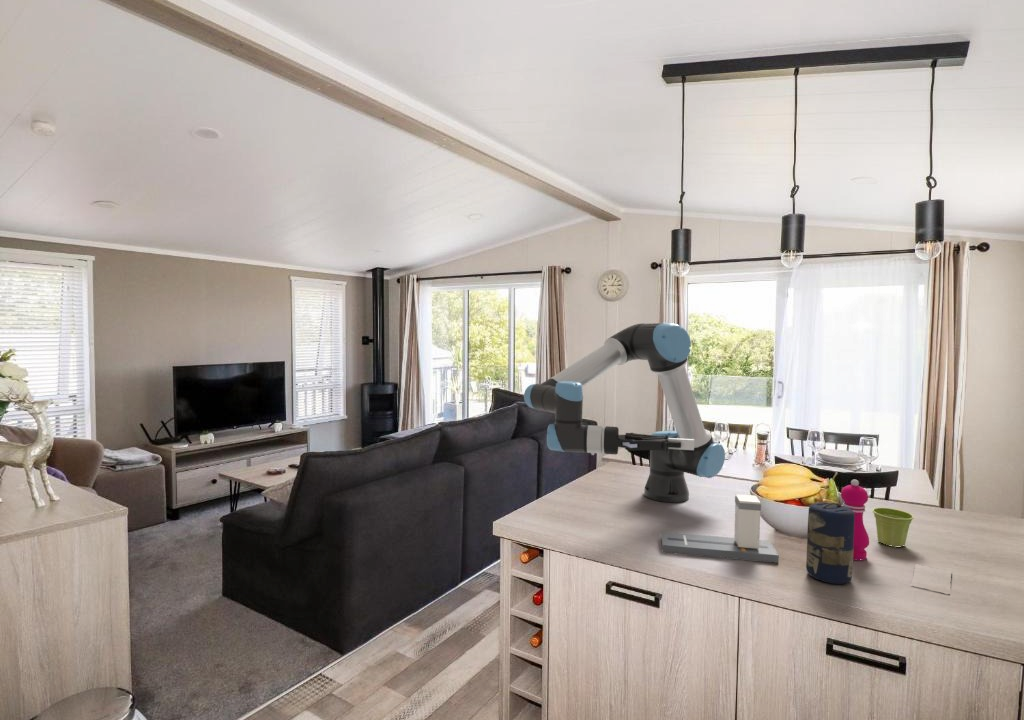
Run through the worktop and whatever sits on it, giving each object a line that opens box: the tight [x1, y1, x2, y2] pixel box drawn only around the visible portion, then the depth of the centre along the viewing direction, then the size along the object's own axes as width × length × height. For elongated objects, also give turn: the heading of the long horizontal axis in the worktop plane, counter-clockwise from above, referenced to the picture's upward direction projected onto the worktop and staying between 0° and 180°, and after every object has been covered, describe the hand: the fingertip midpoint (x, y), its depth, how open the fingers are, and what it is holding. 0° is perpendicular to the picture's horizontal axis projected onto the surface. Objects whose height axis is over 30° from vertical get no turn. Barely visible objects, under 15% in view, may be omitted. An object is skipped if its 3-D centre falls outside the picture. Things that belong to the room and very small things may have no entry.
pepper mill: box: [840, 479, 870, 561], centre depth 144 cm, size 7×7×20 cm
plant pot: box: [871, 507, 915, 546], centre depth 153 cm, size 9×9×9 cm
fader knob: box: [733, 494, 762, 549], centre depth 145 cm, size 5×6×12 cm
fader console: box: [660, 531, 780, 564], centre depth 147 cm, size 28×10×2 cm, turn 77°
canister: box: [805, 501, 855, 585], centre depth 131 cm, size 10×10×18 cm
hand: (693, 444), depth 148 cm, fingers closed
